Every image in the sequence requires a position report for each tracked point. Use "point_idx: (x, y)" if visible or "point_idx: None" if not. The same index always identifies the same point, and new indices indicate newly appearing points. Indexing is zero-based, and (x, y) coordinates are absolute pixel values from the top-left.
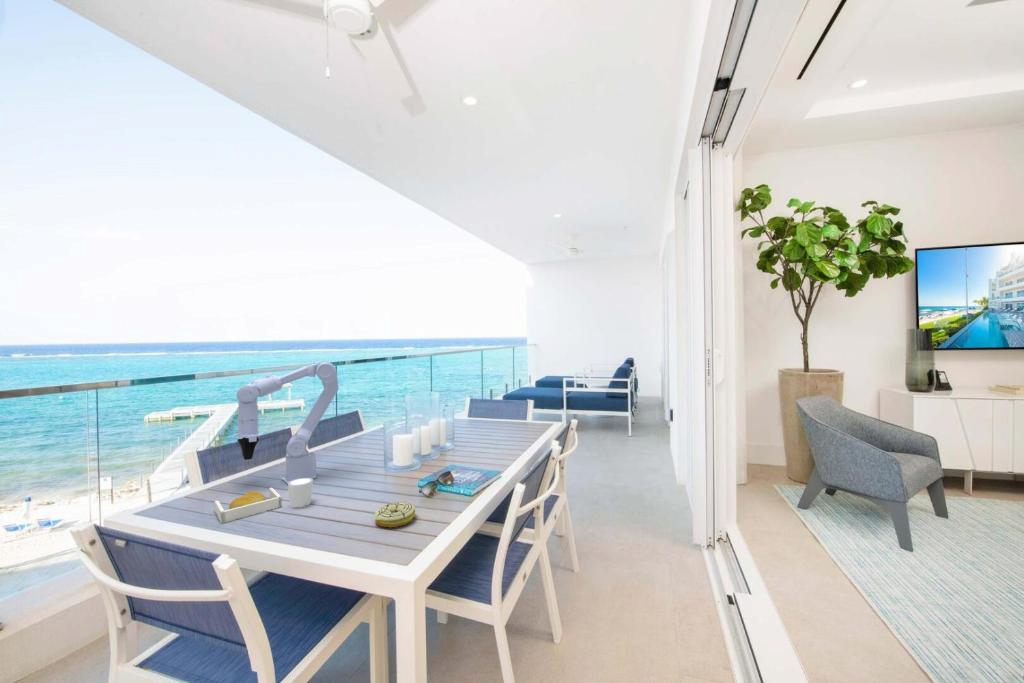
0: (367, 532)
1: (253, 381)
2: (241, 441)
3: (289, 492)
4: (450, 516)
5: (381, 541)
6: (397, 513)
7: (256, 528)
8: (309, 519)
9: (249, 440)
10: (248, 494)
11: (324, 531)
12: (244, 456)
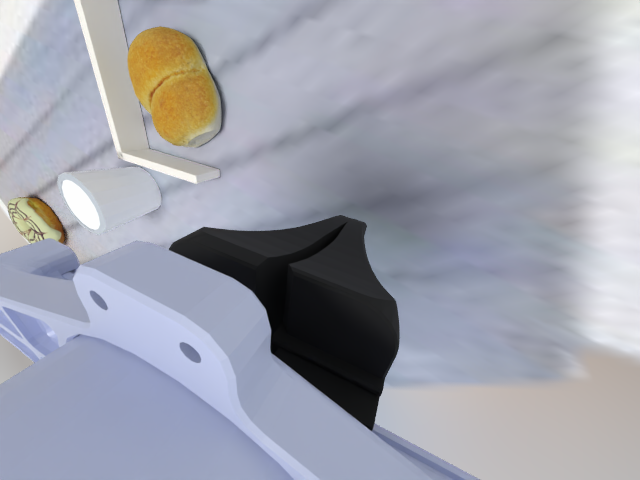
0: (24, 177)
1: None
2: (175, 245)
3: (94, 171)
4: None
5: (4, 170)
6: (10, 216)
7: (62, 54)
8: (75, 154)
9: (25, 247)
10: (158, 96)
11: (33, 142)
12: (328, 221)
